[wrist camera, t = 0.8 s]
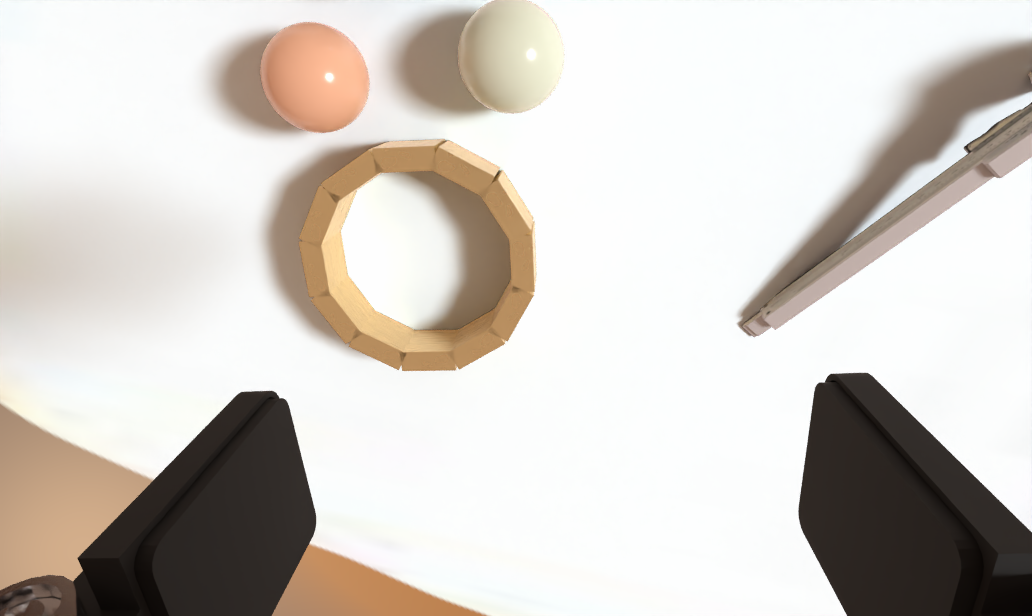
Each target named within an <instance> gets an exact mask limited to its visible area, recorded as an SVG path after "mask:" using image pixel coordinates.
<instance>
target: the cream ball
mask: <svg viewBox="0 0 1032 616" xmlns="http://www.w3.org/2000/svg"><path fill="white" fill-rule="evenodd" d="M564 56H565V54H564V45H563V40H562V37H561V34H560V31H559V29H558V27H557V25H556V24H555V22H554V20H553V19H552V18H551V17H550V15H549V14H548V13H547V12H546V11H544V10H543V9H542V8H541V7H539V6H538V5H536V4H534V3H532V2H530V1H528V0H494V1H491V2H489V3H487V4H485V5H484V6H482V7H481V8H480V9H478V10H477V11H476V12H475V13H474V14H473V15H472V16H471V17H470V19H469V20H468V22H467V23H466V25H465V27H464V29H463V31H462V34H461V37H460V40H459V45H458V66H459V70H460V74H461V77H462V80H463V82H464V84H465V86H466V88H467V89H468V90H469V92H470V93H471V95H472V96H473V97H474V98H475V99H476V100H477V101H479V102H480V103H481V104H482V105H484V106H486V107H487V108H489V109H492V110H494V111H497V112H501V113H511V114H514V113H522V112H525V111H528V110H531V109H533V108H535V107H537V106H538V105H540V104H541V103H543V102H544V101H545V100H546V99H547V98H548V97H549V96H550V95H551V94H552V92H553V91H554V90H555V88H556V86H557V84H558V82H559V80H560V78H561V75H562V71H563V67H564Z"/></svg>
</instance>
